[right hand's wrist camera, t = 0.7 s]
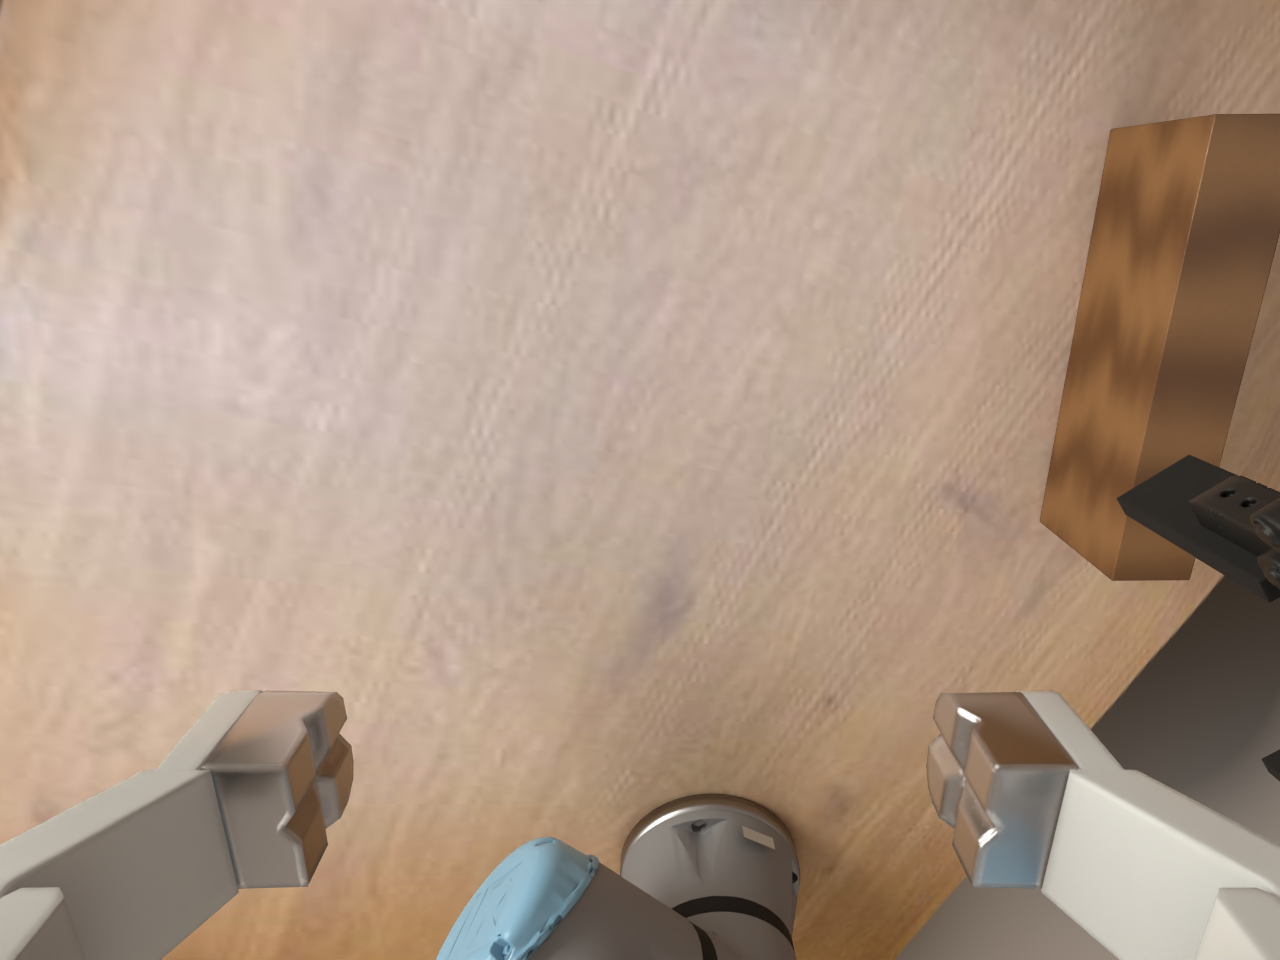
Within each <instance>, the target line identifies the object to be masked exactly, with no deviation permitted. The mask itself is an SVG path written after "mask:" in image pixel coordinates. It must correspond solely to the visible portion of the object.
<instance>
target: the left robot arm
mask: <svg viewBox="0 0 1280 960" xmlns="http://www.w3.org/2000/svg"><path fill="white" fill-rule="evenodd" d="M1116 499H1117V501H1118V502H1119V504H1120V506H1121V508H1122V510H1123V511H1124V513H1125V515H1127V516H1128V517H1130V518H1132V519H1133V520H1135V521H1137V522H1138V523H1140V524H1142V525H1143V526H1145V527H1147V528H1148V529H1150V530H1151V531H1153V532H1155V533H1156V534H1158V535H1160V536H1161V537H1163V538H1165V539H1166V540H1168V541H1169V542H1171V543H1173V544H1174V545H1176V546H1178V547H1179V548H1181V549H1183V550H1184V551H1186V552H1187V553H1189V554H1191V555H1192V556H1194V557H1196V558H1197V559H1199V560H1201V561H1202V562H1204V563H1206V564H1207V565H1209V566H1210V567H1212V568H1214V569H1215V570H1217V571H1219V572H1220V573H1222V574H1224V575H1225V576H1227V577H1229V578H1230V579H1232V580H1233V581H1235V582H1237V583H1238V584H1240V585H1242V586H1243V587H1245V588H1246V589H1248V590H1250V591H1251V592H1253V593H1255V594H1256V595H1258V596H1260V597H1261V598H1263V599H1265V600H1266V601H1268V602H1272V601H1273V600H1275V599H1277V598H1279V597H1280V492H1278V491H1276V490H1273V489H1271V488H1267V486H1264V485H1262V484H1260V483H1256V482H1255V481H1253V480H1250V479H1248V478H1246V477H1243V476H1238V475H1235V474H1233V473H1231V472H1228V471H1226V470H1224V469H1221V468H1219V467H1217V466H1215V465H1212V464H1210V463H1208V462H1205V461H1203V460H1201V459H1198V458H1196V457H1194V456H1191V455H1187V456H1186V457H1184V458H1182V459H1181V460H1179V461H1177V462H1176V463H1174V464H1172V465H1171V466H1169V467H1167V468H1166V469H1164V470H1162V471H1161V472H1159V473H1157V474H1156V475H1154V476H1152V477H1151V478H1149V479H1147V480H1146V481H1144V482H1143V483H1141V484H1139V485H1138V486H1136V487H1134V488H1133V489H1131V490H1129V491H1128V492H1126V493H1124V494H1123V495H1121V496H1119V497H1118V498H1116ZM1262 761H1263V763H1264V764H1265V766H1266V768H1267V770H1268V772H1270V773H1271V774H1272V775H1273V776H1274V777H1275V778H1276V779H1278V780H1279V781H1280V750H1278V751H1276V752H1274V753H1272V754H1270V755H1268V756H1266V757H1264V758H1262ZM799 884H800V868H799V863H798V858H797V854H796V850H795V846H794V843H793V840H792V838H791V836H790V834H789V832H788V830H787V829H786V827H785V826H784V825H783V824H782V822H781V821H780V820H779V819H778V818H777V817H776V816H774V815H773V814H772V813H771V812H769V811H768V810H766V809H765V808H763V807H761V806H759V805H758V804H756V803H753V802H751V801H748V800H745V799H742V798H739V797H734V796H729V795H722V794H701V795H693V796H687V797H683V798H679V799H676V800H673V801H671V802H668V803H666V804H664V805H662V806H660V807H658V808H656V809H655V810H653V811H652V812H650V813H649V814H647V815H646V816H645V817H644V818H643V819H642V820H641V821H640V822H639V823H638V824H637V825H636V826H635V827H634V828H633V830H632V831H631V833H630V834H629V836H628V837H627V839H626V842H625V844H624V847H623V850H622V854H621V866H620V875H618V874H617V873H615V872H613V871H612V870H610V869H609V868H607V867H606V866H604V865H603V864H601V863H600V862H599V860H598V858H597V857H595V856H593V855H585V854H583V853H582V852H580V851H578V850H576V849H575V848H573V847H571V846H569V845H568V844H566V843H564V842H562V841H561V840H558V839H555V838H552V837H541V838H537V839H534V840H531V841H529V842H527V843H525V844H523V845H522V846H520V847H519V848H517V849H516V850H515V851H513V852H512V853H511V854H510V855H509V856H508V857H506V858H505V859H504V860H503V861H502V862H501V863H500V864H499V865H498V866H497V867H496V868H495V870H494V871H493V872H492V873H491V874H490V875H489V876H488V877H487V879H486V880H485V881H484V882H483V884H482V885H481V886H480V887H479V889H478V890H477V891H476V893H475V894H474V895H473V897H472V898H471V900H470V901H469V902H468V904H467V905H466V907H465V908H464V910H463V911H462V913H461V914H460V916H459V917H458V919H457V921H456V922H455V924H454V926H453V927H452V929H451V931H450V933H449V935H448V936H447V938H446V940H445V942H444V944H443V946H442V948H441V950H440V952H439V954H438V956H437V959H436V960H796V956H795V952H794V947H793V942H792V931H793V924H794V918H795V911H796V903H797V896H798V890H799Z"/></svg>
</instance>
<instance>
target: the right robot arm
mask: <svg viewBox="0 0 1280 960" xmlns="http://www.w3.org/2000/svg"><path fill="white" fill-rule="evenodd" d="M346 719H347V716H346V711H345V706H344V701H343V697H341V696H340V695H339V694H338V693H337V692H307V691H227V692H224V693H221V694H220V695H219V696H218V697H217V698H216V699H215V700H214V701H213V703H212V704H211V705H210V706H209V707H208V709H207V710H206V711H205V712H204V713H203V714H202V716H201V717H200V718H199V719H198V720H197V722H196V723H195V724H194V725H193V726H192V727H191V729H190V730H189V731H188V732H187V733H186V735H185V736H184V737H183V738H182V739H181V740H180V742H179V743H178V744H177V745H176V746H175V748H174V749H173V750H172V751H171V752H170V753H169V755H168V756H167V757H166V758H165V759H164V761H163V762H162V763H161V764H160V765H159V766H158V768H157V769H156V770H143V771H141V772H139V773H137V774H135V775H133V776H131V777H129V778H127V779H125V780H124V781H122V782H120V783H118V784H116V785H114V786H112V787H110V788H108V789H106V790H104V791H103V792H101V793H99V794H97V795H95V796H93V797H91V798H89V799H87V800H85V801H83V802H82V803H80V804H78V805H76V806H74V807H72V808H70V809H68V810H66V811H64V812H62V813H60V814H59V815H57V816H55V817H53V818H51V819H49V820H47V821H45V822H43V823H41V824H39V825H38V826H36V827H34V828H32V829H30V830H28V831H26V832H24V833H22V834H20V835H18V836H16V837H15V838H13V839H11V840H9V841H7V842H5V843H3V844H1V845H0V960H161V959H162V958H163V957H164V956H166V955H167V954H168V953H169V952H170V951H171V950H173V949H174V948H175V947H176V946H177V945H178V944H180V943H181V942H182V941H183V940H184V939H185V938H186V937H188V936H189V935H190V934H191V933H192V932H193V931H195V930H196V929H197V928H198V927H199V926H200V925H202V924H203V923H204V922H205V921H206V920H207V919H209V918H210V917H211V916H212V915H213V914H214V913H215V912H217V911H218V910H219V909H220V908H221V907H222V906H224V905H225V904H226V903H227V902H228V901H229V900H231V899H232V898H233V897H234V896H235V895H236V894H238V892H239V891H238V889H246V888H280V887H308V884H309V882H310V880H311V878H312V876H313V874H314V872H315V870H316V868H317V866H318V864H319V862H320V860H321V858H322V856H323V854H324V852H325V849H326V847H327V845H328V842H327V836H326V830H325V829H326V828H327V827H329V826H330V825H331V824H333V823H334V822H336V821H337V820H338V819H340V818H341V816H342V814H343V811H344V809H345V807H346V805H347V803H348V800H349V796H350V791H351V786H352V782H353V754H352V747H351V745H350V744H349V743H348V742H347V741H346V740H345V739H344V738H343V737H342V736H341V735H340V734H339V732H340V730H341V729H342V727H343V725H344V723H345V721H346ZM933 719H934V721H935V723H936V725H937V727H938V729H939V730H940V732H941V734H940V735H939V736H938V737H937V738H936V739H935V740H934V741H933V742H932V743H931V744H930V745H929V748H928V756H927V765H926V769H927V780H928V789H929V792H930V796H931V799H932V803H933V805H934V807H935V809H936V812H937V814H938V816H939V818H940V819H942V820H943V821H944V822H946V823H947V824H949V825H950V826H951V827H953V828H954V829H955V830H954V836H953V842H952V845H953V847H954V849H955V851H956V854H957V856H958V858H959V860H960V862H961V864H962V866H963V868H964V870H965V872H966V874H967V876H968V878H969V880H970V882H971V884H972V886H973V887H999V888H1034V889H1042V890H1041V892H1042V893H1043V894H1044V895H1045V896H1046V897H1048V898H1049V899H1050V900H1051V901H1052V902H1053V903H1055V904H1056V905H1057V906H1058V907H1059V908H1060V909H1061V910H1063V911H1064V912H1065V913H1066V914H1067V915H1068V916H1069V917H1071V918H1072V919H1073V920H1074V921H1075V922H1076V923H1078V924H1079V925H1080V926H1081V927H1082V928H1083V929H1085V930H1086V931H1087V932H1088V933H1089V934H1090V935H1091V936H1093V937H1094V938H1095V939H1096V940H1097V941H1098V942H1100V943H1101V944H1102V945H1103V946H1104V947H1105V948H1107V949H1108V950H1109V951H1110V952H1111V953H1112V954H1114V955H1115V956H1116V957H1117V958H1118V959H1119V960H1280V845H1278V844H1277V843H1275V842H1273V841H1271V840H1269V839H1267V838H1265V837H1263V836H1261V835H1259V834H1257V833H1256V832H1254V831H1252V830H1250V829H1248V828H1246V827H1244V826H1242V825H1240V824H1238V823H1236V822H1234V821H1233V820H1231V819H1229V818H1227V817H1225V816H1223V815H1221V814H1219V813H1217V812H1215V811H1214V810H1212V809H1210V808H1208V807H1206V806H1204V805H1202V804H1200V803H1198V802H1196V801H1195V800H1193V799H1191V798H1189V797H1187V796H1185V795H1183V794H1181V793H1179V792H1177V791H1175V790H1174V789H1172V788H1170V787H1168V786H1166V785H1164V784H1162V783H1160V782H1158V781H1156V780H1154V779H1153V778H1151V777H1149V776H1147V775H1145V774H1143V773H1141V772H1139V771H1137V770H1124V769H1123V768H1122V766H1121V765H1120V764H1119V763H1118V762H1117V761H1116V759H1115V758H1114V757H1113V756H1112V755H1111V754H1110V752H1109V751H1108V750H1107V749H1106V748H1105V746H1104V745H1103V744H1102V743H1101V742H1100V741H1099V739H1098V738H1097V737H1096V736H1095V735H1094V733H1093V732H1092V731H1091V730H1090V729H1089V728H1088V726H1087V725H1086V724H1085V723H1084V722H1083V720H1082V719H1081V718H1080V717H1079V716H1078V715H1077V713H1076V712H1075V711H1074V710H1073V709H1072V707H1071V706H1070V705H1069V704H1068V703H1067V702H1066V700H1065V699H1064V698H1063V697H1062V696H1061V695H1060V694H1059V693H1057V692H1055V691H1053V690H1036V691H1014V692H985V693H940V695H939V697H938V699H937V701H936V704H935V710H934V715H933Z"/></svg>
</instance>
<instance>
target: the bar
mask: <svg viewBox="0 0 1280 960" xmlns="http://www.w3.org/2000/svg"><path fill="white" fill-rule="evenodd" d="M1279 234H1280V114H1215V115H1208V116H1201V117H1194V118H1187V119H1180V120H1173V121H1166V122H1159V123H1152V124H1145V125H1138V126H1130V127H1123V128H1116V129H1111V132H1110V137H1109V143H1108V148H1107V154H1106V159H1105V165H1104V170H1103V176H1102V181H1101V187H1100V192H1099V198H1098V203H1097V209H1096V214H1095V220H1094V225H1093V231H1092V236H1091V242H1090V247H1089V253H1088V258H1087V264H1086V270H1085V275H1084V281H1083V286H1082V292H1081V297H1080V303H1079V308H1078V314H1077V319H1076V325H1075V330H1074V336H1073V341H1072V347H1071V352H1070V358H1069V363H1068V369H1067V374H1066V380H1065V385H1064V391H1063V396H1062V402H1061V407H1060V413H1059V418H1058V424H1057V430H1056V435H1055V441H1054V446H1053V452H1052V457H1051V463H1050V468H1049V474H1048V479H1047V485H1046V490H1045V496H1044V501H1043V507H1042V512H1041V518H1040V522H1041V523H1042V524H1043V525H1044V526H1046V527H1047V528H1048V529H1049V530H1051V531H1052V532H1053V533H1054V534H1056V535H1057V536H1058V537H1059V538H1060V539H1062V540H1063V541H1064V542H1065V543H1067V544H1068V545H1069V546H1070V547H1071V548H1073V549H1074V550H1075V551H1076V552H1078V553H1079V554H1080V555H1081V556H1083V557H1084V558H1085V559H1086V560H1087V561H1089V562H1090V563H1091V564H1092V565H1094V566H1095V567H1096V568H1097V569H1099V570H1100V571H1101V572H1102V573H1103V574H1105V575H1106V576H1107V577H1108V578H1110V579H1111V580H1112V581H1129V580H1190V577H1191V573H1192V569H1193V565H1194V561H1195V557H1194V556H1192V555H1191V554H1189V553H1187V552H1186V551H1184V550H1183V549H1181V548H1179V547H1178V546H1176V545H1174V544H1173V543H1171V542H1169V541H1168V540H1166V539H1165V538H1163V537H1161V536H1160V535H1158V534H1156V533H1155V532H1153V531H1151V530H1150V529H1148V528H1147V527H1145V526H1143V525H1142V524H1140V523H1138V522H1137V521H1135V520H1133V519H1132V518H1130V517H1128V516H1127V515H1125V513H1124V511H1123V510H1122V508H1121V506H1120V504H1119V502H1118V501H1117V499H1116V498H1118V497H1119V496H1121V495H1123V494H1124V493H1126V492H1128V491H1129V490H1131V489H1133V488H1134V487H1136V486H1138V485H1139V484H1141V483H1143V482H1144V481H1146V480H1147V479H1149V478H1151V477H1152V476H1154V475H1156V474H1157V473H1159V472H1161V471H1162V470H1164V469H1166V468H1167V467H1169V466H1171V465H1172V464H1174V463H1176V462H1177V461H1179V460H1181V459H1182V458H1184V457H1186V456H1187V455H1191V456H1194V457H1196V458H1198V459H1201V460H1203V461H1205V462H1208V463H1210V464H1212V465H1215V466H1217V467H1219V465H1220V461H1221V457H1222V453H1223V449H1224V446H1225V442H1226V438H1227V434H1228V430H1229V426H1230V423H1231V419H1232V415H1233V411H1234V407H1235V403H1236V399H1237V396H1238V392H1239V388H1240V384H1241V380H1242V376H1243V372H1244V369H1245V365H1246V361H1247V357H1248V353H1249V349H1250V345H1251V342H1252V338H1253V334H1254V330H1255V326H1256V322H1257V318H1258V315H1259V311H1260V307H1261V303H1262V299H1263V295H1264V292H1265V288H1266V284H1267V280H1268V276H1269V272H1270V268H1271V265H1272V261H1273V257H1274V253H1275V249H1276V245H1277V241H1278V238H1279Z"/></svg>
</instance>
